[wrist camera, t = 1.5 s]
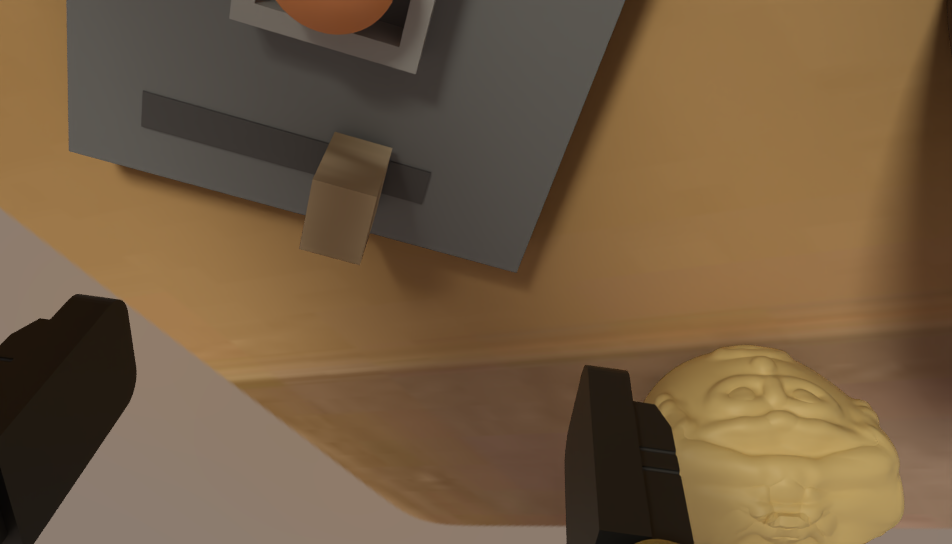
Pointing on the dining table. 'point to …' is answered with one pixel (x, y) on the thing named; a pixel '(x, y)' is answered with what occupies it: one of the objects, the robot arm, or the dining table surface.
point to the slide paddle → (345, 198)
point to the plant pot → (950, 20)
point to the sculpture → (777, 452)
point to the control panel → (346, 104)
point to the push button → (335, 14)
